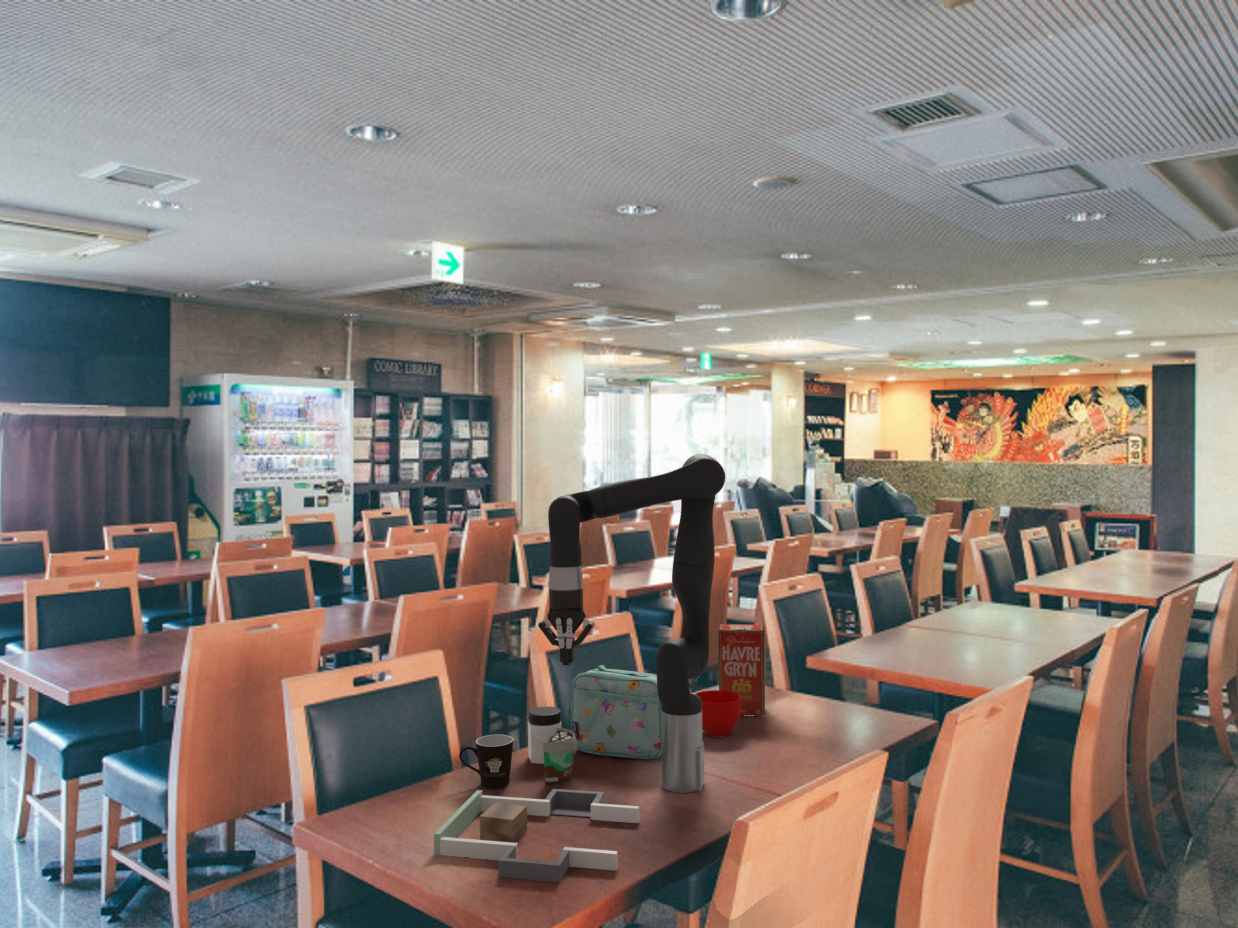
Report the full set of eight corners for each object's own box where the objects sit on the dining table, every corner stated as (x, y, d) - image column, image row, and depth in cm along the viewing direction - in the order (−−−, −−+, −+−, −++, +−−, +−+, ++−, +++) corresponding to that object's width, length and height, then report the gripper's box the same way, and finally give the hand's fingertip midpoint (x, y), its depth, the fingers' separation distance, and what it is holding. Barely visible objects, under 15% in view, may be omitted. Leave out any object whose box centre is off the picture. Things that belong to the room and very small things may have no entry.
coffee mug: (520, 779, 207) (519, 736, 207) (503, 792, 199) (503, 747, 199) (475, 773, 211) (475, 731, 211) (457, 786, 203) (457, 742, 203)
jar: (522, 762, 219) (521, 713, 218) (535, 752, 226) (534, 705, 226) (556, 766, 216) (555, 716, 216) (568, 755, 224) (567, 707, 224)
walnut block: (527, 830, 179) (526, 805, 179) (513, 845, 172) (512, 819, 172) (495, 826, 181) (494, 802, 181) (480, 841, 174) (479, 815, 174)
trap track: (644, 808, 189) (644, 790, 189) (608, 886, 155) (608, 863, 155) (487, 797, 196) (487, 779, 196) (420, 869, 162) (419, 847, 162)
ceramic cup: (688, 722, 250) (687, 687, 250) (747, 729, 243) (746, 692, 243) (672, 736, 238) (672, 698, 238) (734, 743, 231) (734, 704, 231)
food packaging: (718, 715, 256) (717, 628, 256) (720, 706, 265) (719, 622, 265) (765, 717, 254) (764, 629, 254) (765, 708, 263) (764, 623, 263)
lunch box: (563, 753, 225) (562, 668, 225) (580, 740, 235) (579, 659, 235) (663, 765, 215) (662, 677, 215) (676, 752, 225) (675, 667, 225)
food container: (569, 788, 201) (568, 744, 201) (543, 786, 202) (542, 743, 202) (582, 769, 213) (582, 728, 213) (557, 768, 214) (557, 726, 214)
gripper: (599, 584, 199) (600, 661, 199) (542, 583, 202) (543, 659, 202) (591, 589, 192) (592, 669, 192) (532, 588, 194) (533, 667, 195)
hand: (566, 664), depth 197 cm, fingers closed
